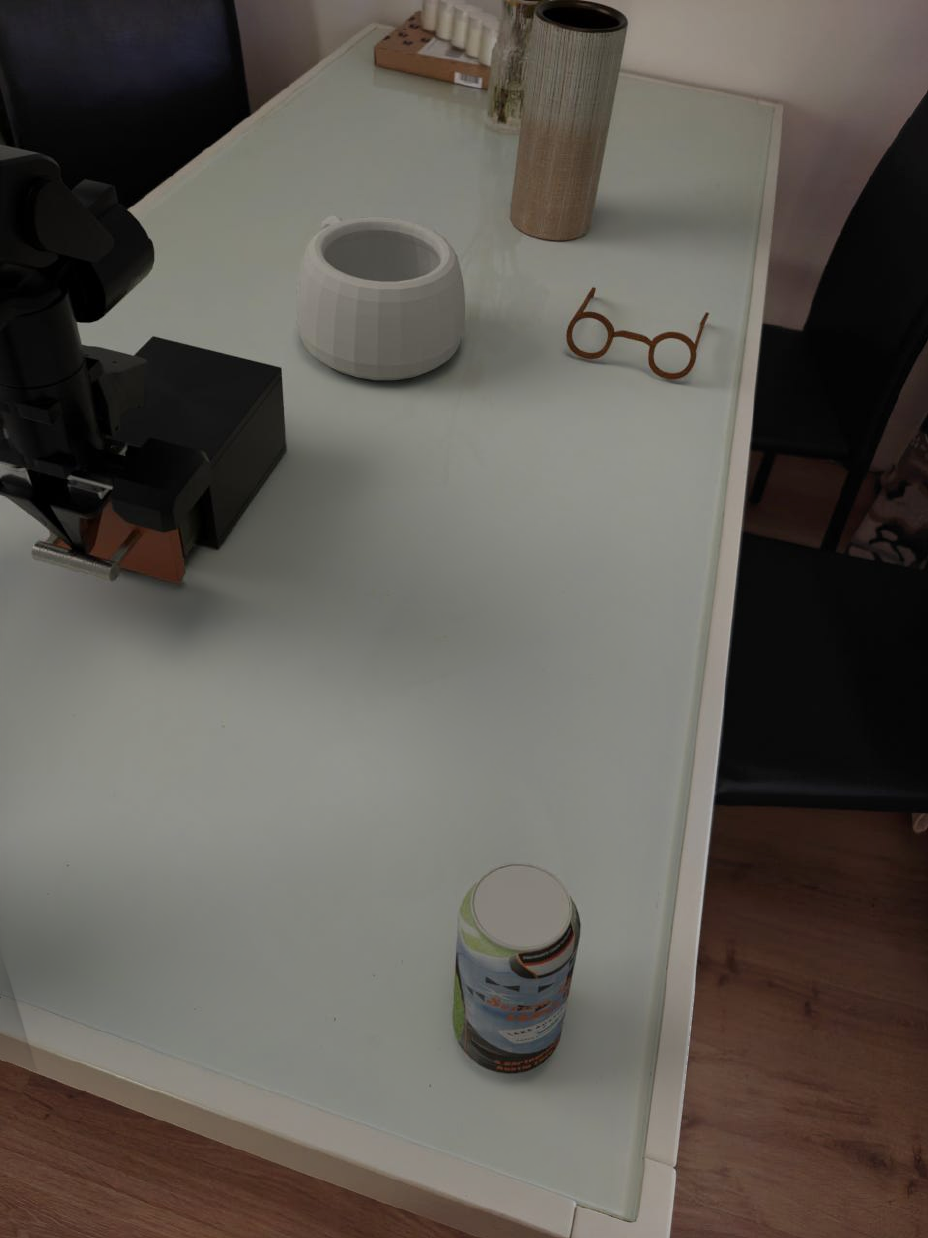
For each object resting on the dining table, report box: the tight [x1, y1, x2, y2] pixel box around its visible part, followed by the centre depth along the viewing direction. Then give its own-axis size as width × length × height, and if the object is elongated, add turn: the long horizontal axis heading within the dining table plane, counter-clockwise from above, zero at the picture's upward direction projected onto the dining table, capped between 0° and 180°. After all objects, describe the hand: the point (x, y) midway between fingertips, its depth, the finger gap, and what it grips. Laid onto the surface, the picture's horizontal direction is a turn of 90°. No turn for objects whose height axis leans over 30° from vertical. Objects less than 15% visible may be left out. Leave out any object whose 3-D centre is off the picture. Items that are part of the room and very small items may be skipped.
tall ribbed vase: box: [509, 0, 629, 241], centre depth 113 cm, size 10×10×23 cm
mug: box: [295, 214, 466, 381], centre depth 98 cm, size 21×17×10 cm
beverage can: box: [452, 862, 582, 1075], centre depth 51 cm, size 6×7×12 cm
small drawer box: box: [105, 335, 288, 551], centre depth 81 cm, size 14×12×9 cm
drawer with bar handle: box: [31, 452, 206, 584], centre depth 75 cm, size 17×10×7 cm, turn 164°
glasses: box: [565, 286, 710, 381], centre depth 103 cm, size 13×13×5 cm
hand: (86, 550), depth 71 cm, fingers closed, pressing on drawer with bar handle
